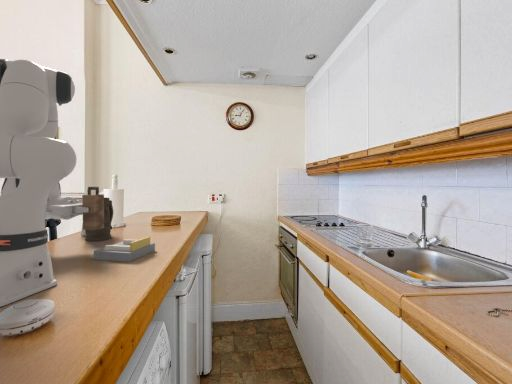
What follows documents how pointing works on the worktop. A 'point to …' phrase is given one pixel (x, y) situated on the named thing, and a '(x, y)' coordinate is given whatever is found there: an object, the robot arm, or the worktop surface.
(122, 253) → the dock
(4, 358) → the worktop surface
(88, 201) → the brown handled block
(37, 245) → the robot arm
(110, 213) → the beer stein
